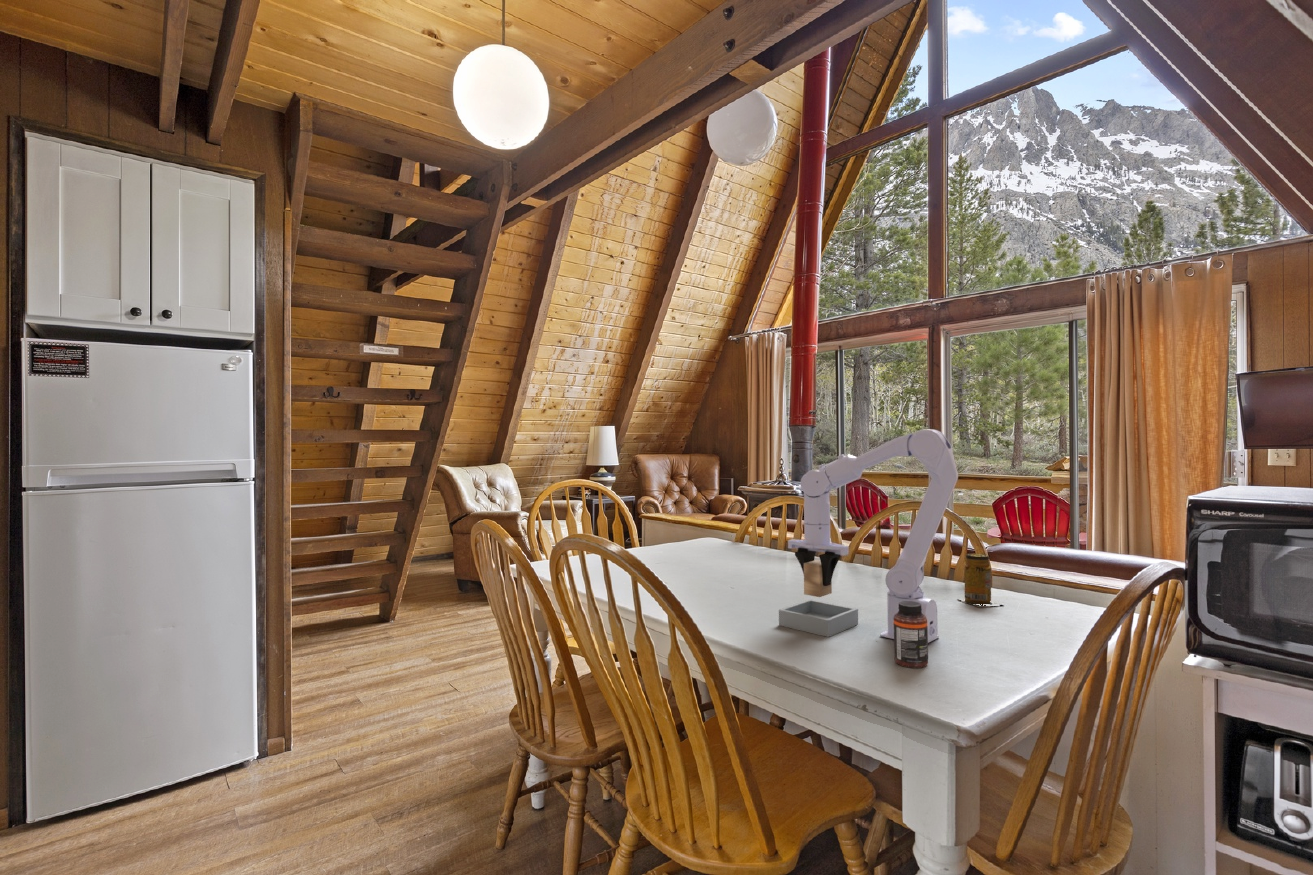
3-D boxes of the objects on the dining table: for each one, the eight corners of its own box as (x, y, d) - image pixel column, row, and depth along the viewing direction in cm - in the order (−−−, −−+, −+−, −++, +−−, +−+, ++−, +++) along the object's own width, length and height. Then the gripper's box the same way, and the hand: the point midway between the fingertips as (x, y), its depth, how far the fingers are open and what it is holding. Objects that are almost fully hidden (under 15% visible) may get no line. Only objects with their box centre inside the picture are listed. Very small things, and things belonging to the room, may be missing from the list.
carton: (831, 593, 149) (831, 562, 149) (819, 597, 145) (819, 565, 145) (816, 590, 152) (815, 560, 152) (804, 594, 148) (803, 563, 148)
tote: (858, 624, 148) (857, 608, 148) (828, 636, 140) (828, 620, 140) (809, 614, 157) (809, 599, 157) (778, 625, 149) (778, 609, 149)
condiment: (980, 598, 171) (979, 551, 171) (1004, 606, 162) (1004, 557, 162) (955, 600, 169) (955, 553, 169) (979, 608, 161) (978, 559, 161)
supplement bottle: (900, 655, 127) (899, 597, 127) (932, 662, 123) (931, 602, 123) (889, 664, 123) (888, 603, 122) (922, 671, 119) (921, 608, 119)
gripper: (780, 522, 151) (780, 581, 151) (836, 528, 140) (837, 591, 141) (797, 519, 156) (798, 576, 156) (853, 524, 145) (854, 586, 145)
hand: (817, 583), depth 149 cm, fingers closed on carton, 4 cm apart
